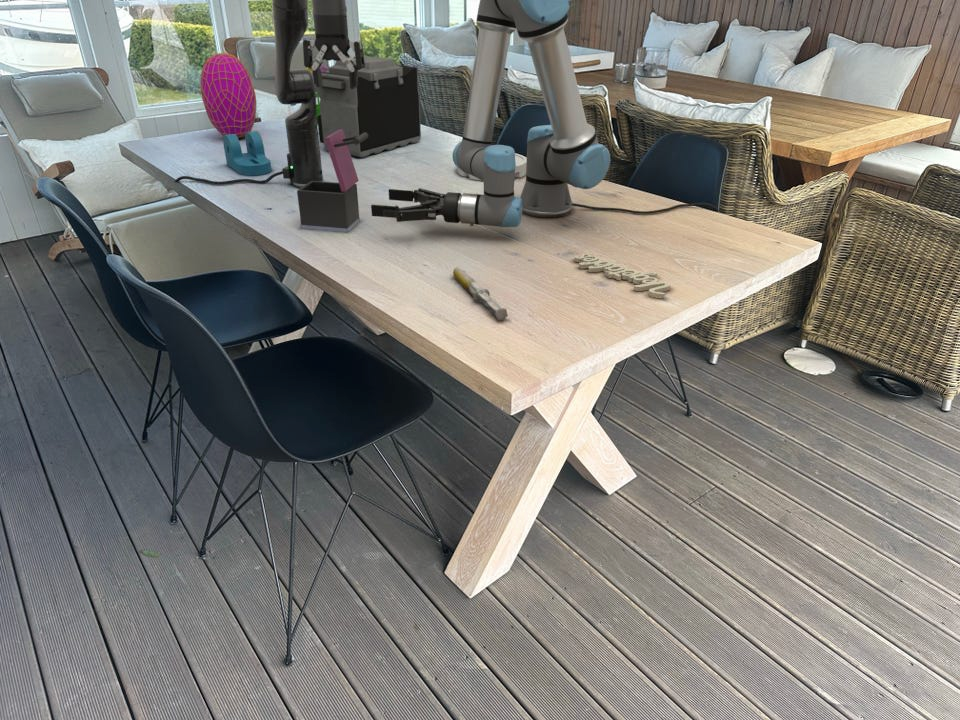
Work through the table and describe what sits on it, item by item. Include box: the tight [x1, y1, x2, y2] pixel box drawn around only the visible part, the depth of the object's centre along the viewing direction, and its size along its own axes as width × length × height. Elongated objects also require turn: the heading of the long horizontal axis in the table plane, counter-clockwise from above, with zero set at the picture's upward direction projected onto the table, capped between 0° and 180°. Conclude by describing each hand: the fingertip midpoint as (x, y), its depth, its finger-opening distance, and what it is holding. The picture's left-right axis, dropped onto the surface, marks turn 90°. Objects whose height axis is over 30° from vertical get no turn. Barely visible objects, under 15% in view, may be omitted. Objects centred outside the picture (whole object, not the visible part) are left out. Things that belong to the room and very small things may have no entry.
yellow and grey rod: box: [452, 266, 509, 321], centre depth 145 cm, size 25×4×3 cm, turn 21°
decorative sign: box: [574, 252, 671, 299], centre depth 155 cm, size 26×1×10 cm
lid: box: [325, 129, 368, 192], centre depth 172 cm, size 13×9×8 cm
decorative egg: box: [200, 52, 257, 139], centre depth 259 cm, size 19×19×30 cm
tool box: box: [311, 55, 422, 159], centre depth 250 cm, size 37×22×30 cm, turn 144°
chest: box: [296, 181, 361, 233], centre depth 180 cm, size 13×9×10 cm
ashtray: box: [456, 152, 527, 182], centre depth 228 cm, size 23×23×4 cm
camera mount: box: [222, 131, 272, 176], centre depth 226 cm, size 18×10×10 cm, turn 35°
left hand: (336, 87), depth 165 cm, fingers open, 8 cm apart
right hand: (380, 202), depth 177 cm, fingers open, 13 cm apart
